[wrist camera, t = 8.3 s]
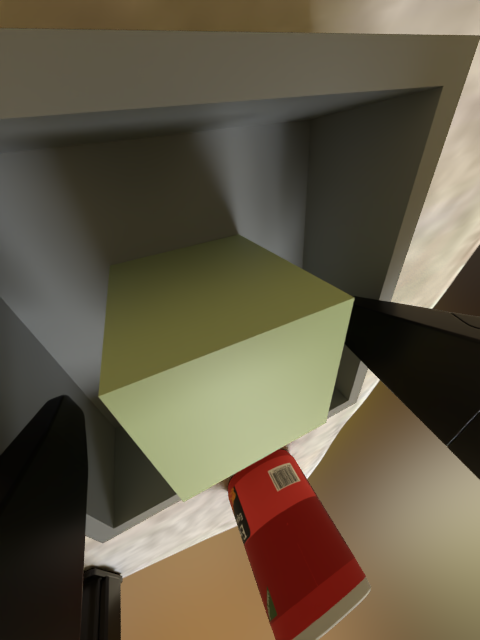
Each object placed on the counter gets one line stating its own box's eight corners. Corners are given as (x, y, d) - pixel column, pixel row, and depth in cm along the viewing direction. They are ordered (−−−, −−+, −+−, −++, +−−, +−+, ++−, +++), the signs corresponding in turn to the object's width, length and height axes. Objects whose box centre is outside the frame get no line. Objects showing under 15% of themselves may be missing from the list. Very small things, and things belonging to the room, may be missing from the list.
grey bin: (107, 431, 13) (103, 543, 9) (-169, 131, 5) (-1141, 10, 1) (300, 347, 16) (356, 402, 12) (317, 95, 8) (480, 35, 5)
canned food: (212, 486, 22) (270, 679, 14) (279, 437, 23) (373, 594, 14) (241, 497, 27) (296, 645, 19) (296, 458, 28) (372, 583, 19)
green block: (156, 363, 11) (183, 502, 6) (109, 265, 8) (98, 396, 3) (249, 328, 12) (325, 422, 8) (238, 234, 9) (354, 297, 5)
